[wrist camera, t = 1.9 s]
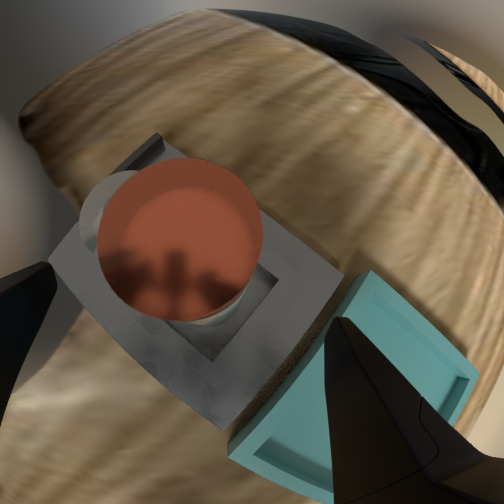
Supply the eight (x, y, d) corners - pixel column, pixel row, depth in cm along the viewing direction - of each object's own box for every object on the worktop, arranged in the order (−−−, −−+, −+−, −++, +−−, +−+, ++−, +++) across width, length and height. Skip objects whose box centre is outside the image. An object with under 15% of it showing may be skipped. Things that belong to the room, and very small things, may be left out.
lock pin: (211, 339, 15) (184, 357, 5) (159, 294, 15) (70, 242, 6) (255, 286, 16) (297, 220, 6) (202, 243, 16) (175, 134, 7)
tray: (369, 509, 13) (379, 519, 11) (227, 444, 14) (227, 457, 12) (464, 372, 16) (479, 372, 14) (357, 275, 18) (371, 269, 16)
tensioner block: (224, 425, 14) (223, 442, 12) (54, 263, 16) (33, 252, 13) (338, 278, 18) (356, 269, 15) (163, 146, 19) (156, 122, 17)
